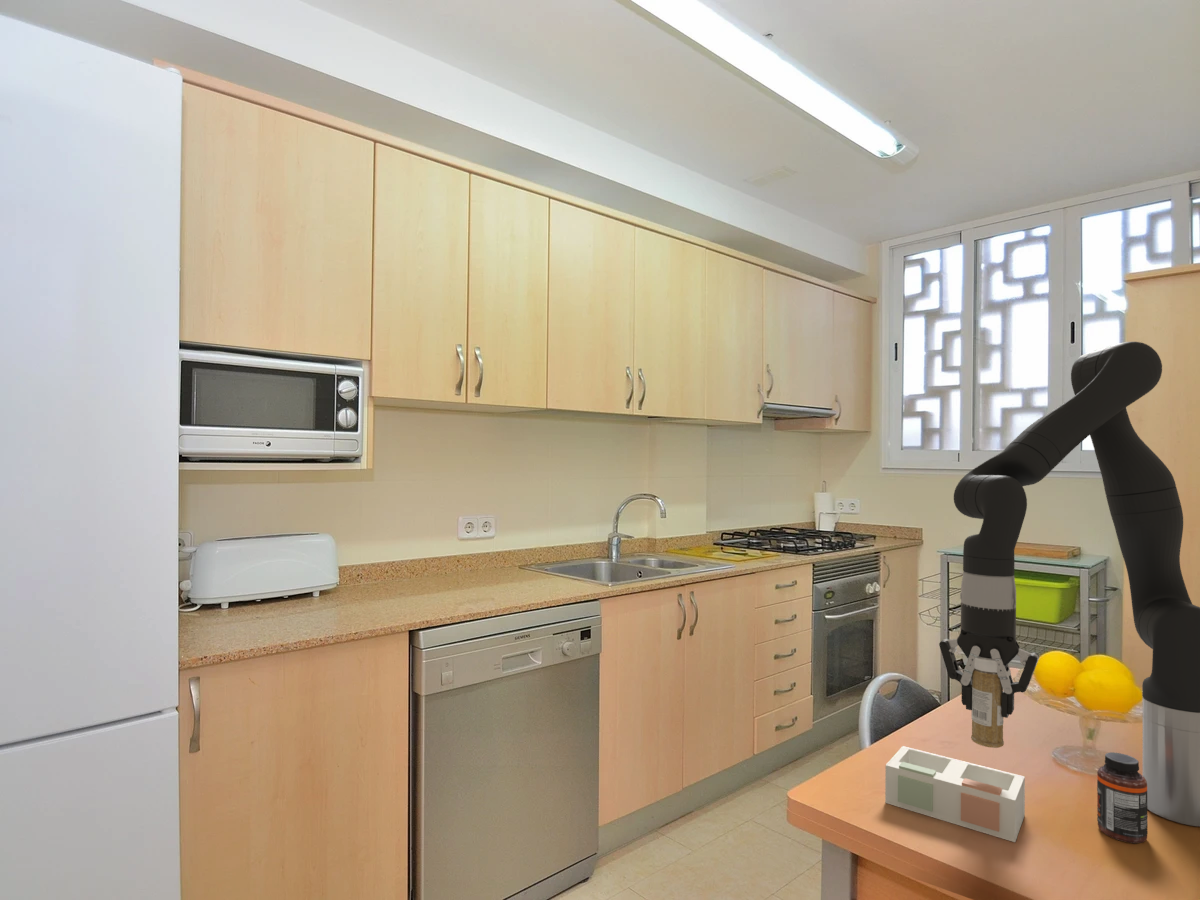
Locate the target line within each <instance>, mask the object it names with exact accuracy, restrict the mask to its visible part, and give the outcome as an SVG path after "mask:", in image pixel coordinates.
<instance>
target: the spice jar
mask: <svg viewBox="0 0 1200 900" xmlns="http://www.w3.org/2000/svg"><path fill="white" fill-rule="evenodd" d="M972 660H973V659H972ZM998 665H1000V664H998ZM1001 671H1002V670H1001ZM1002 693H1003V687H1002V684H1001V681H1000V679H999V677H998V674H997V662H996V661H993V659H989V658H983V657H978V658H975V663H974V671H973V675H972V710H971V737H970V739H971V741H972V742H973V743H975V744H976V745H979V746H982V747H985V748H993V749H997V748H1002V747H1004V745H1005V741H1004V717H1002Z"/></svg>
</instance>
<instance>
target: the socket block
mask: <svg viewBox="0 0 1200 900" xmlns="http://www.w3.org/2000/svg"><path fill="white" fill-rule="evenodd" d="M1025 777H1026V776H1024V775H1020V774H1017V773H1013V772H1008V771H1005V770H1000V769H996V768H993V767H988V766H984V765H980V764H976V763H973V762H968V761H964V760H961V759H956V758H953V757H949V756H944V755H941V754H937V753H934V752H933V753H932V752H928V751H925V750H921V749H917V748H913V747H908V746H905V745H902V746H901V747H900V748H899V749H898V750H897V752H896V753H895V754H894V755H893V756H892V757H891V758H890V760H889V761H888V762H886V764H885V780H884V781H885V782H884V783H885V789H884V790H885V792H884V794H885V796H884V797H885V800H884V801H885V802H884V803H885V804H888V805H892V806H895V807H898V808H901V809H905V810H907V811H911V812H915V813H917V814H921V815H925V816H927V817H930V818H933V819H937V820H941V821H943V822H947V823H949V824H953V825H957V826H961V827H964V828H966V829H970V830H974V831H977V832H980V833H982V834H983V833H984V834H987V835H988V836H989V835H990V836H993V837H997V838H999V839H1003V840H1007V841H1010V842H1013V843H1016V841H1017V839H1018V835H1019V832H1020V830H1021V826H1022V825H1023V821H1024V818H1025V816H1026V815H1025V813H1026V812H1025V811H1026V809H1025V808H1026V807H1025V806H1026V804H1025V803H1026V802H1025V801H1026V795H1025V794H1026V791H1025V787H1026V786H1025V783H1026V780H1025Z"/></svg>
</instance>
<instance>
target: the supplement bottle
mask: <svg viewBox="0 0 1200 900" xmlns="http://www.w3.org/2000/svg"><path fill="white" fill-rule="evenodd" d="M1139 763H1140V762H1139V760H1138V759H1137V758H1135V757H1133V756H1131V755H1128V754H1124V753H1120V752H1114V751H1113V752H1111V751H1110V752H1106V753H1105V755H1104V764H1103V765H1102V766H1100V767H1099V768H1098V769H1097V772H1096V773H1097V775H1096V777H1097V779H1096V780H1097V782H1096V784H1097V785H1096V786H1097V787H1096V790H1097V793H1096V794H1097V796H1096V797H1097V801H1096V802H1097V805H1096V806H1097V807H1096V808H1097V810H1096V811H1097V814H1096V816H1097V818H1096V820H1097V826H1098V828H1099V830H1100V831H1101V832H1102V833H1103V834H1105V835H1107V836H1108V837H1110V838H1113V839H1115V840H1118V841H1121V842H1124V843H1129V844H1139V843H1140V844H1141V843H1144V842H1145V841H1147V839H1148V809H1147V781H1146V779H1145V778H1144V777H1143V774H1141V773H1140V772H1139V771H1140V765H1139Z"/></svg>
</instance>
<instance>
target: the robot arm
mask: <svg viewBox="0 0 1200 900" xmlns="http://www.w3.org/2000/svg"><path fill="white" fill-rule="evenodd" d="M1070 371H1071V372H1070V381H1071V386H1072V390H1073V394H1074V395H1073V396H1072V397H1071V398H1069V399H1067V400H1066V401H1065V402H1064V403H1062V404H1061V405H1059V406H1057V407H1056V408H1054V409H1052V410H1051V411H1049V412H1047V413H1046V414H1044V415H1042V416H1041V417H1040V418H1038V419H1037V420H1035V421H1034V422H1033V423H1030V425H1029V426H1027V427H1026V428H1025V429H1024V430H1023V431H1022V432H1020V434H1018V435H1017V437H1015V438H1014V439H1013V440H1012V441H1011V442H1010V443H1009V444H1008V445H1007V446H1006V447H1005V448H1004V449H1003V450H1002V451H1001V452H999V453H998V454H996V455H994V456H993V457H990V458H989V459H987V460H985V461H984V462H982V463H981V464H979V465H978V466H976V467H974V468H973V469H971V471H970V470H969V472H967V473H966V474H965V475H963V477H962V478H961V479H960V480H959V482H958V483H957V485H956V487H955V489H954V493H953V503H954V505H955V508H956V509H957V511H959V513H961V514H962V515H964V516H966V517H969V518H971V519H979V520H982V524H981V526H980V531H979V532H978V534H976V533H975V534H972V535H969V536H967V537H966V538H965V539H964V543H963V551H962V554H963V557H962V576H961V578H962V579H961V583H960V584H961V587H960V590H961V591H960V595H959V599H960V631H959V632H960V633H959V635H958V637H957V638H952V639H949V638H943V639H942V640H941V641H939V643H938V645H939V649H940V652H941V656H942V660H943V661H944V665H945V669H946V672H947V675H948V678H949V679H951V680H955V681H957V682H959V684H960V686H961V703H962V705H963V706H965V709H966V710H969V711H972V675H973V671H974V663H975V658H978V657H983V658H989V659H993V661H996V662H997V674H998V677H999V679H1000V681H1001V684H1002V687H1003V693H1002V717H1003V718H1005V719H1006V718H1007V719H1008V718H1009V715H1010V716H1011V715H1012V714H1013V712H1014V710H1015V693H1025V692H1026V691H1027V689H1028V688H1029V685H1030V683H1031V680H1032V678H1033V675H1034V672H1035V669H1036V667H1037V665H1038V662H1039V659H1040V655H1039V653H1037V652H1030V651H1026V650H1025V649H1022V648H1020V645H1019V643H1018V641H1017V637H1016V636H1017V588H1016V587H1017V586H1016V580H1015V549H1016V545H1017V543H1018V540H1019V537H1020V533H1021V530H1022V528H1023V524H1024V520H1025V517H1026V513H1027V509H1028V507H1027V506H1028V498H1027V494H1026V491H1025V489H1024V487H1025V486H1026V487H1027V486H1032V485H1035V484H1037V483H1039V482H1041V481H1042V480H1043V479H1044V478H1045V477H1047V476H1048V475H1049V474H1050V472H1052V471H1053V470H1054V469H1055V468H1056V467H1057V466H1058V465H1059V464H1060V463H1061V462H1063V460H1064V459H1065V458H1066V457H1067V456H1068V455H1069V454H1070V453H1071V452H1072V451H1073V450H1075V448H1077V446H1079V445H1080V444H1081V443H1082V442H1083V441H1084V440H1086V439H1087V438H1088V437H1090V439H1091V443H1092V446H1093V450H1094V454H1095V457H1096V460H1097V464H1098V467H1099V471H1100V475H1101V478H1102V483H1103V488H1104V492H1105V497H1106V500H1107V505H1108V508H1109V509H1108V510H1109V513H1110V516H1111V519H1112V523H1113V526H1114V530H1115V534H1116V537H1117V540H1118V545H1119V549H1120V551H1121V556H1122V558H1123V561H1124V565H1125V568H1126V572H1127V577H1128V583H1129V584H1128V585H1129V591H1130V600H1131V607H1132V617H1133V623H1134V628H1135V631H1136V633H1137V635H1138V636H1139V638H1140V640H1141V641H1142V642H1143V643H1144V644H1145V645H1147V646H1148V647H1149V648H1150V649H1152V659H1151V660H1152V661H1151V662H1152V663H1151V664H1152V665H1151V673H1150V675H1149V676H1148V677H1146V678H1144V679H1143V681H1142V686H1141V687H1142V690H1141V691H1142V692H1141V693H1142V776H1143V777H1144V778H1145V779H1146V781H1147V811H1150V812H1151V813H1153V814H1155V815H1157V816H1159V817H1162V818H1163V819H1166V820H1169V821H1172V822H1176V823H1178V824H1182V825H1187V826H1193V827H1200V606H1198V605H1196V604H1193V601H1192V600H1191V598H1190V596H1189V592H1188V590H1187V587H1186V584H1185V580H1184V577H1183V574H1182V570H1181V569H1182V568H1181V561H1180V560H1181V559H1180V557H1181V548H1182V539H1183V534H1184V533H1183V532H1184V515H1183V507H1182V503H1181V500H1180V497H1179V495H1180V494H1179V493H1178V489H1177V484H1176V481H1175V478H1174V476H1173V474H1172V472H1171V471H1170V469H1169V468H1168V467H1167V465H1166V464H1165V463H1164V462H1163V461H1162V459H1160V458H1159V456H1158V455H1157V454H1156V453H1155V452H1154V451H1153V450H1152V449H1151V448H1150V447H1149V446H1148V445H1147V444H1146V443H1145V442H1144V441H1143V440H1142V439H1141V437H1140V436H1139V434H1138V433H1137V432H1136V430H1135V429H1134V427H1133V425H1132V422H1131V420H1130V418H1129V413H1128V411H1127V407H1128V406H1130V405H1132V404H1133V403H1135V402H1136V401H1138V400H1139V399H1141V398H1142V397H1144V396H1146V395H1147V394H1148V393H1150V392H1151V391H1152V390H1153V389H1154V388H1155V387H1156V386H1157V385H1158V383H1159V382H1160V379H1161V378H1162V373H1163V363H1162V360H1161V356H1160V355H1159V353H1158V352H1157V351H1156V350H1155V349H1154V348H1153V347H1152V346H1150V345H1149V344H1147V343H1144V342H1142V341H1141V342H1140V341H1124V342H1119V343H1115V344H1111V345H1109V346H1106V347H1102V348H1099V349H1096V350H1093V351H1089V352H1086V353H1083V354H1082V355H1080V356H1079V357H1078V358H1077V359H1075V360H1074V363H1073V364H1072V366H1071V370H1070ZM958 646H959V648H960V650H961V651H962V652H963V654H964V655H965V657H966V658H967V661H966V664H965V667H964V669H963V671H962V670H960V669H959V665H958V661H957V659H956V655H955V653H956V652H957V651H958V648H957V647H958ZM1016 656H1018V657H1019V658H1020V659H1019V660H1020V661H1019V662H1020V665H1022V666H1023V670H1022V672H1021V675H1020V677H1019V681H1014V679H1013V677H1012V672H1011V669H1010V665H1009V663H1010V662H1011V661H1013V660H1014V658H1016ZM972 659H973V660H972ZM998 664H1000V665H998ZM1001 670H1002V671H1001Z"/></svg>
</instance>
